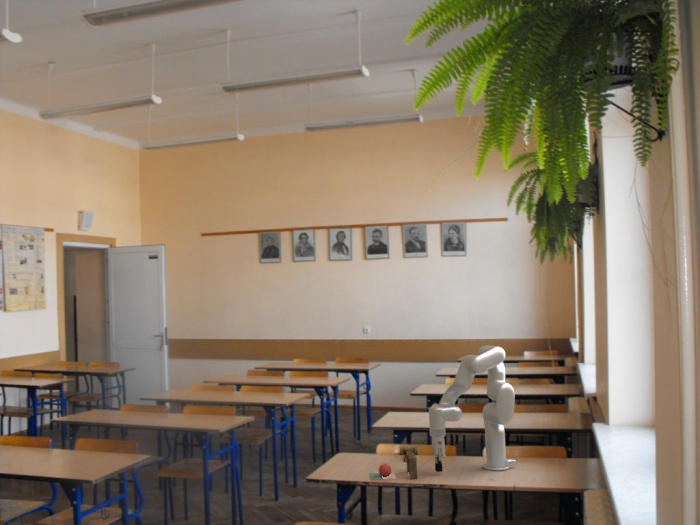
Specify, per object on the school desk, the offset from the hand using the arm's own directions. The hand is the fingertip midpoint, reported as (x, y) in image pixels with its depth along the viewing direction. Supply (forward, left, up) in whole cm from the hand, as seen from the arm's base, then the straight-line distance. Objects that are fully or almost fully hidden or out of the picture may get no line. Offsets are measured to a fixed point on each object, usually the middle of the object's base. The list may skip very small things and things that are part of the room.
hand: (438, 471), depth 313 cm
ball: (+26, 0, +2) cm, 26 cm away
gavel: (+10, -38, -2) cm, 40 cm away
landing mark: (+27, 0, -2) cm, 27 cm away
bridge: (+13, 0, -2) cm, 13 cm away
